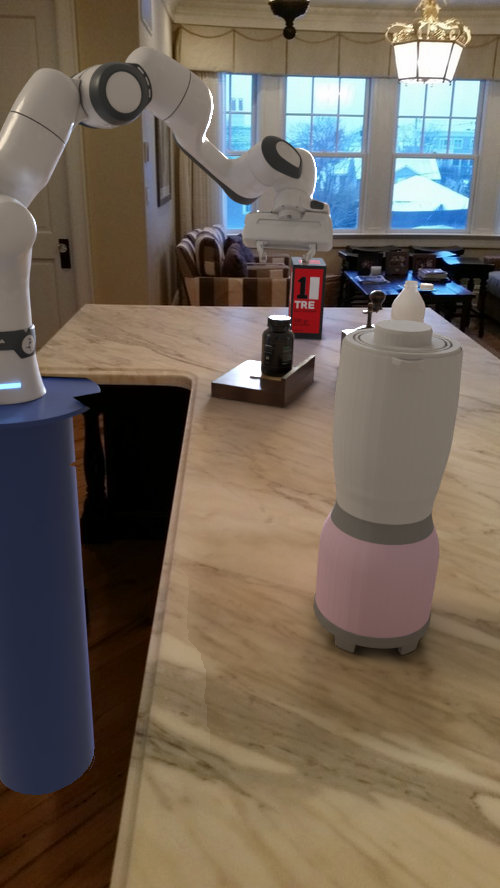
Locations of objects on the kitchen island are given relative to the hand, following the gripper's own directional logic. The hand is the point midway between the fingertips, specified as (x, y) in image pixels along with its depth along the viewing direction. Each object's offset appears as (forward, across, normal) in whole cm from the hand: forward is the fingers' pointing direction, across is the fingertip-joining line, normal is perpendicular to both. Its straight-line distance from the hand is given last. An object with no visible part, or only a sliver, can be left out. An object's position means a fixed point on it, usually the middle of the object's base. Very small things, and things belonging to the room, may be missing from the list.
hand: (283, 262), depth 154 cm
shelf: (+27, -1, +8) cm, 28 cm away
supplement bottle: (+24, +1, +7) cm, 25 cm away
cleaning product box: (-13, +2, +48) cm, 50 cm away
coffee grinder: (+13, +20, +22) cm, 32 cm away
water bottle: (+30, +28, +5) cm, 41 cm away
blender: (+82, +22, -46) cm, 97 cm away
